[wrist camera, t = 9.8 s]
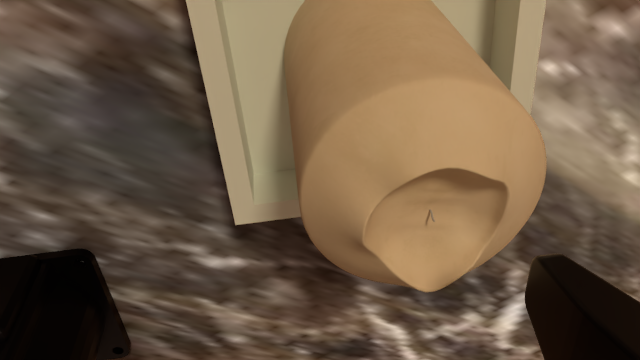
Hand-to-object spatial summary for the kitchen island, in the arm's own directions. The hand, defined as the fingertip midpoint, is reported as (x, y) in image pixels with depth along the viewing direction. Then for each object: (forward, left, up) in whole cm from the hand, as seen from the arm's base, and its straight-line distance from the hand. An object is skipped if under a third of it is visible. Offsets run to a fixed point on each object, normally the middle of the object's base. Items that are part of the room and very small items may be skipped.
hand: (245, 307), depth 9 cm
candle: (-1, -4, -13) cm, 13 cm away
